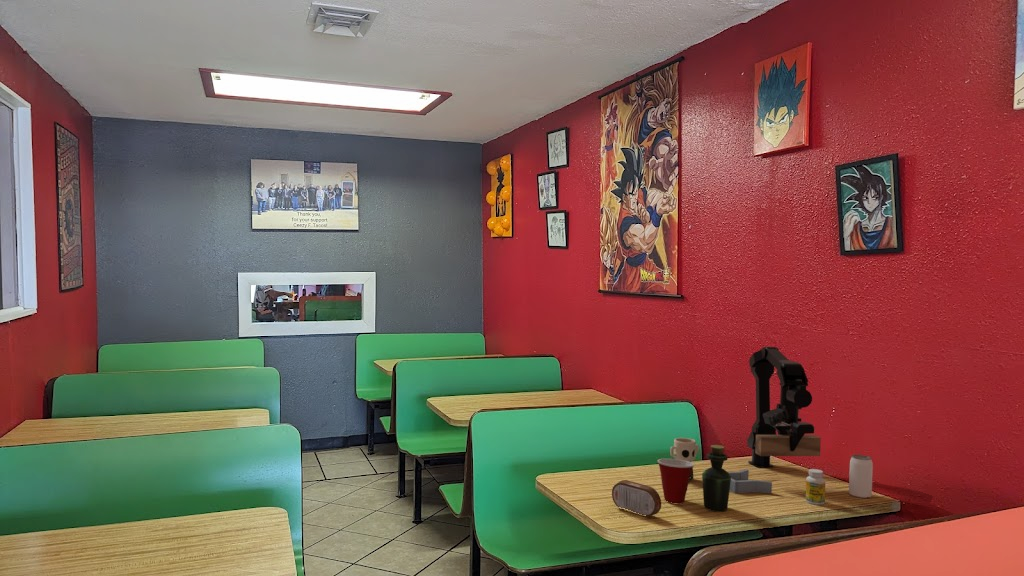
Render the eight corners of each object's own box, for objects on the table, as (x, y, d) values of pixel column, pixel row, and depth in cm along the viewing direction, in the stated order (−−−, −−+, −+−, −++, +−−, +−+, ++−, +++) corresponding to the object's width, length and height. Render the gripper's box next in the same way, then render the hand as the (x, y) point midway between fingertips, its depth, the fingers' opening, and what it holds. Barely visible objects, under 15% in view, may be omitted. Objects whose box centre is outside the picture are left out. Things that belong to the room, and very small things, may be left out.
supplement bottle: (823, 500, 215) (824, 469, 215) (826, 506, 210) (827, 474, 209) (804, 498, 216) (805, 467, 216) (806, 504, 211) (807, 472, 211)
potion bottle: (695, 507, 205) (697, 446, 205) (709, 501, 211) (711, 441, 211) (721, 514, 200) (723, 451, 199) (735, 508, 206) (737, 447, 205)
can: (869, 499, 217) (870, 461, 216) (846, 495, 220) (847, 457, 220) (873, 494, 222) (874, 456, 221) (851, 490, 226) (852, 453, 225)
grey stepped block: (746, 479, 235) (746, 468, 235) (773, 493, 220) (773, 482, 220) (713, 480, 232) (714, 470, 232) (738, 495, 218) (738, 484, 217)
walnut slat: (755, 452, 231) (755, 434, 231) (813, 452, 233) (814, 434, 233) (760, 456, 227) (761, 437, 227) (820, 456, 229) (820, 437, 229)
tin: (661, 518, 196) (662, 488, 196) (655, 521, 194) (656, 490, 194) (615, 505, 206) (616, 476, 206) (609, 507, 204) (610, 478, 204)
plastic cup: (697, 499, 213) (699, 459, 213) (687, 509, 204) (688, 468, 204) (662, 492, 219) (664, 454, 218) (651, 502, 209) (652, 462, 209)
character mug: (675, 483, 228) (677, 443, 228) (663, 477, 235) (664, 438, 235) (704, 480, 232) (705, 441, 232) (691, 474, 239) (692, 436, 239)
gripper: (751, 396, 237) (749, 443, 237) (784, 407, 218) (783, 457, 219) (780, 396, 239) (779, 442, 240) (816, 407, 221) (814, 456, 221)
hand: (787, 449), depth 230 cm, fingers closed on walnut slat, 4 cm apart
